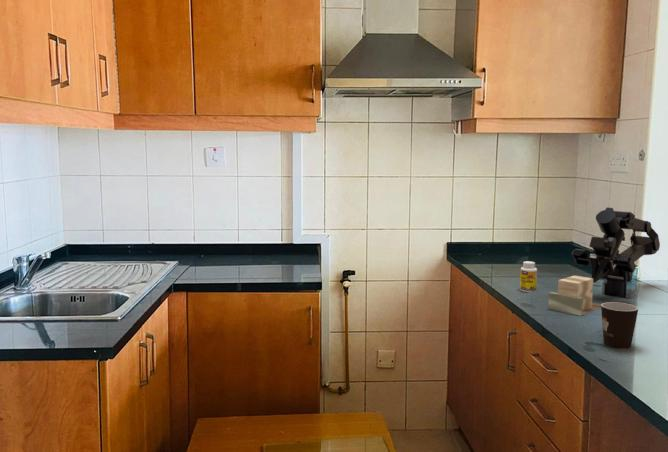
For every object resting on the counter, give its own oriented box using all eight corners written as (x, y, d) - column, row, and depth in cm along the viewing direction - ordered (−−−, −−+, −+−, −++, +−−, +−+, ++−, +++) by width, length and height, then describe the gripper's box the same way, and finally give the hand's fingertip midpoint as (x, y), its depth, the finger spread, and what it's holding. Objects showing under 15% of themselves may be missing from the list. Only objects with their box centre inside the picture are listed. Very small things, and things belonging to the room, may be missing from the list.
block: (573, 303, 190) (574, 275, 189) (591, 307, 186) (593, 278, 185) (557, 309, 184) (558, 280, 182) (576, 313, 179) (577, 283, 178)
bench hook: (574, 304, 195) (575, 284, 194) (605, 310, 188) (606, 289, 187) (548, 313, 184) (548, 292, 183) (579, 320, 177) (581, 298, 176)
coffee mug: (637, 351, 150) (640, 312, 149) (599, 347, 154) (601, 309, 152) (633, 338, 161) (635, 301, 160) (597, 334, 164) (600, 298, 163)
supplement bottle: (518, 291, 212) (519, 262, 211) (521, 288, 217) (522, 260, 216) (534, 293, 209) (535, 264, 208) (537, 290, 214) (539, 261, 213)
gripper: (575, 224, 200) (557, 262, 194) (634, 230, 186) (616, 271, 180) (585, 245, 206) (568, 282, 200) (642, 252, 192) (626, 292, 186)
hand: (593, 281), depth 191 cm, fingers closed
